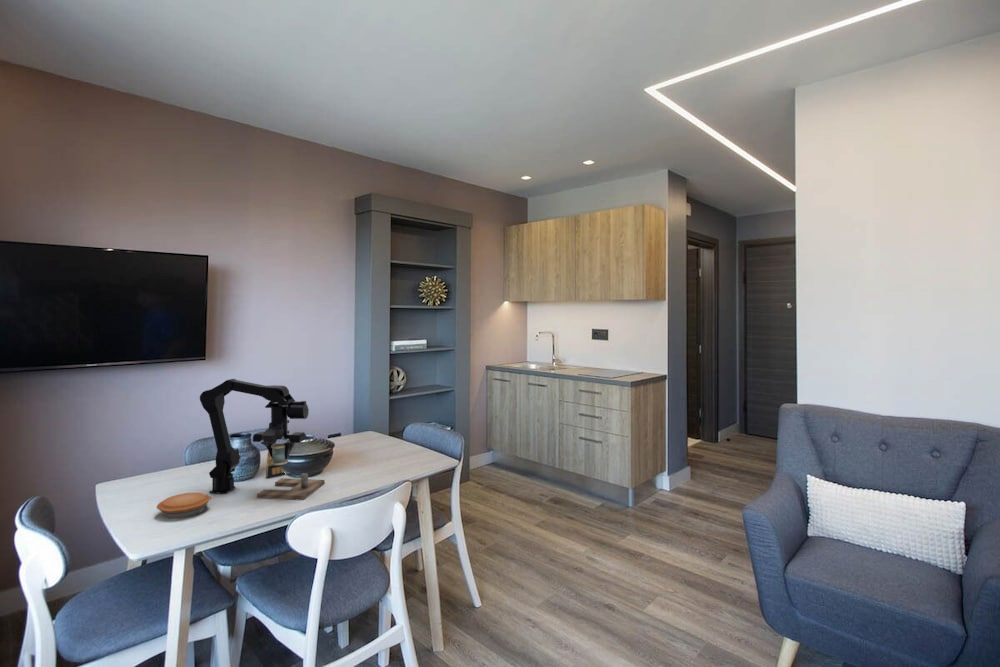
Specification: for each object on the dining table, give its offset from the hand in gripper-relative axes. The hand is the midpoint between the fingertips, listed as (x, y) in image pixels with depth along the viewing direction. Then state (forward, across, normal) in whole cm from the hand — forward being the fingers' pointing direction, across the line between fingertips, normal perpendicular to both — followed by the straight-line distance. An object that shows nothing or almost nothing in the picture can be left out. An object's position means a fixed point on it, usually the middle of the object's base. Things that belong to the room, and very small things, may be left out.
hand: (279, 459), depth 188 cm
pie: (+12, -21, -23) cm, 34 cm away
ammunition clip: (+12, -10, +18) cm, 24 cm away
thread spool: (+2, 0, 0) cm, 2 cm away
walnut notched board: (+12, +4, +1) cm, 13 cm away
